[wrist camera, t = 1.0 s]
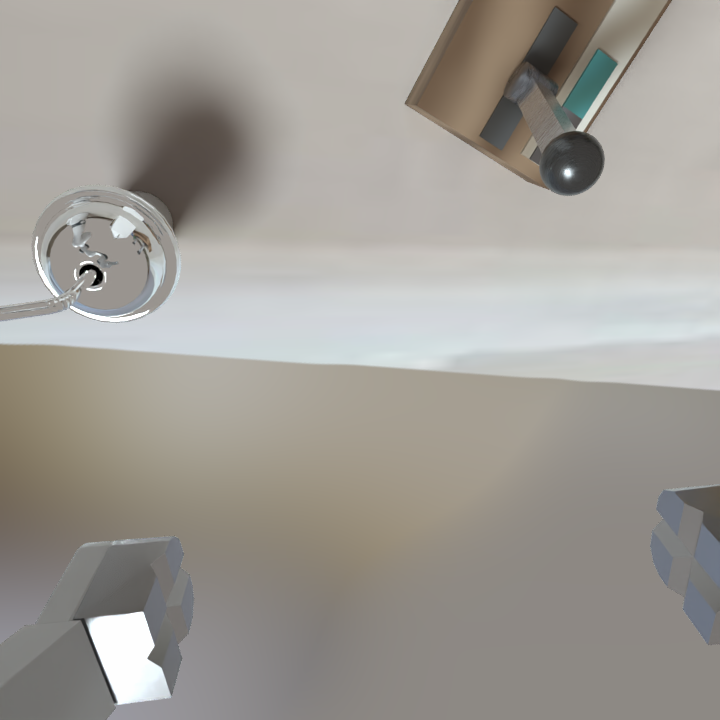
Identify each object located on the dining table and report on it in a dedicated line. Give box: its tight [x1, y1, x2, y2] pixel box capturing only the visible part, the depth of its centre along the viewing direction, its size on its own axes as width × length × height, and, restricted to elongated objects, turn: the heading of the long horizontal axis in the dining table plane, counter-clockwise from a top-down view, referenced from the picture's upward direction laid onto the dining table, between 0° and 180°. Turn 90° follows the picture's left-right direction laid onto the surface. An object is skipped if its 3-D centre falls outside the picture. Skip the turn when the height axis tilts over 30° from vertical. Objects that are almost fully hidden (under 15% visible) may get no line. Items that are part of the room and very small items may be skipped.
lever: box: [503, 61, 605, 196], centre depth 33 cm, size 3×3×14 cm
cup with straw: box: [0, 184, 181, 323], centre depth 34 cm, size 8×9×20 cm
